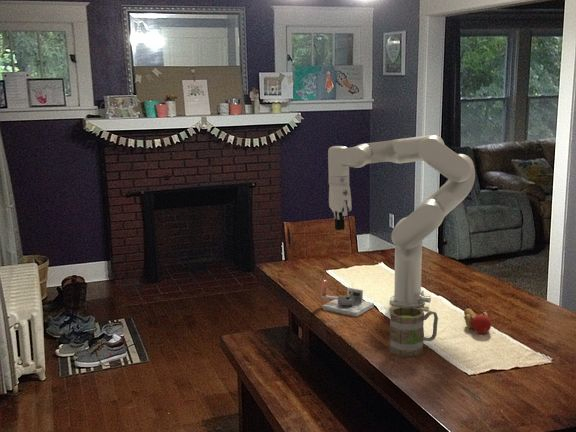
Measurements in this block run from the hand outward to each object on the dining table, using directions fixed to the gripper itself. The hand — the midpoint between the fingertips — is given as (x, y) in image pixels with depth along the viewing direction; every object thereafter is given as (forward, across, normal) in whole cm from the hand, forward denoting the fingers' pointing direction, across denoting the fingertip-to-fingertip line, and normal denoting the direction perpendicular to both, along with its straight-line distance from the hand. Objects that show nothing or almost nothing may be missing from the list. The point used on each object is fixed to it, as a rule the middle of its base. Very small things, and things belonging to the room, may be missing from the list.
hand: (339, 229), depth 242 cm
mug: (+27, -52, +2) cm, 59 cm away
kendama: (+27, -45, -27) cm, 59 cm away
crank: (+24, -9, +6) cm, 27 cm away
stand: (+26, -12, +3) cm, 29 cm away
